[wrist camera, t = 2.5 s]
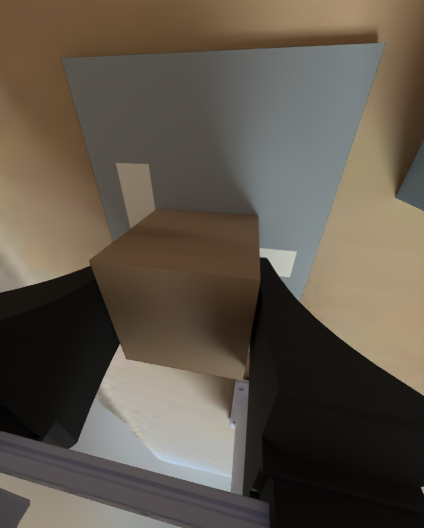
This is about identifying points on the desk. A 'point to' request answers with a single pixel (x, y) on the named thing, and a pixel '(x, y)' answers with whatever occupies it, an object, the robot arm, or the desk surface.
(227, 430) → the desk surface
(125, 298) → the walnut block
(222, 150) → the board
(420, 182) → the blue cube
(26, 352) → the robot arm
